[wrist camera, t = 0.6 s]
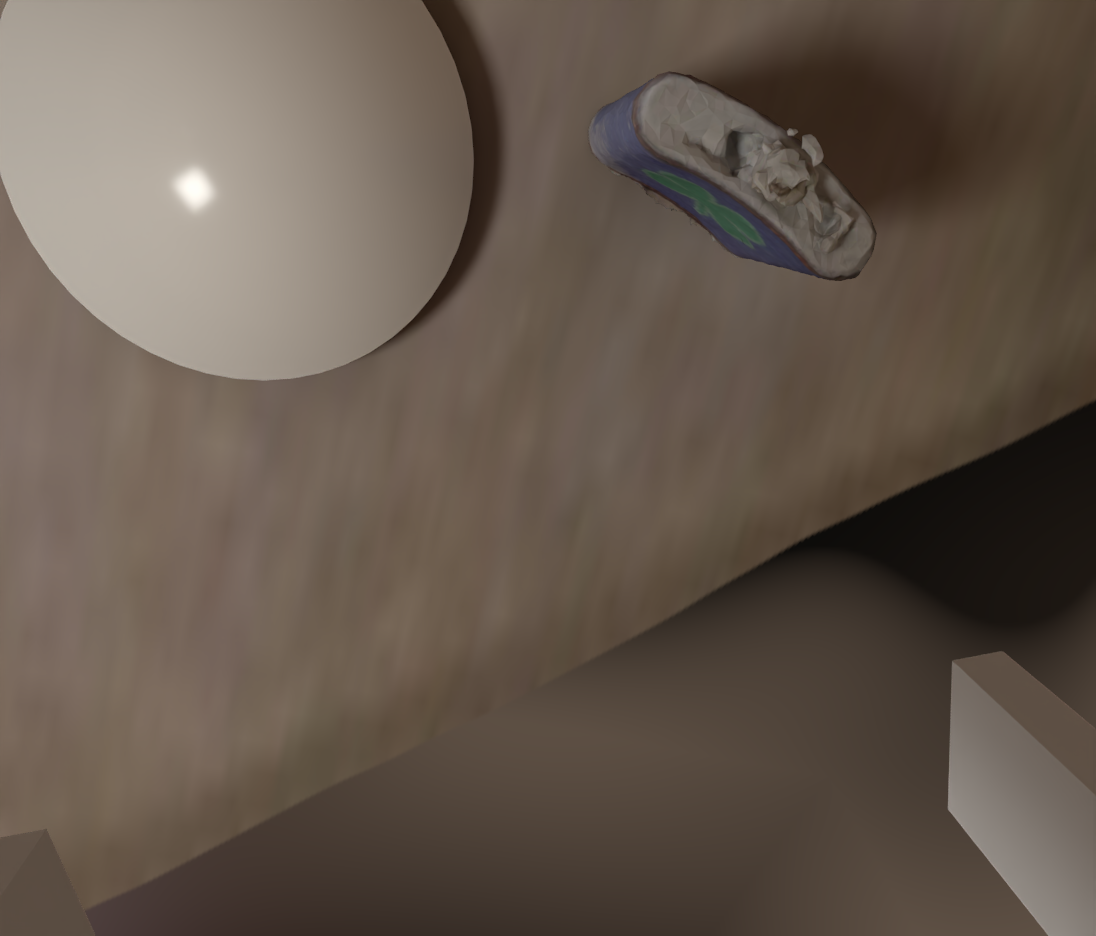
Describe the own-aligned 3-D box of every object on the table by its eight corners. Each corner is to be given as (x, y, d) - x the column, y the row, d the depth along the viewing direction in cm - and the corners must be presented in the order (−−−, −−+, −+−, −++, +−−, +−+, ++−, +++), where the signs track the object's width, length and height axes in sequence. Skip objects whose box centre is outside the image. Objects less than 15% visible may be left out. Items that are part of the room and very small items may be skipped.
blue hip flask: (573, 147, 31) (632, 121, 21) (614, 79, 30) (695, 18, 20) (751, 273, 33) (881, 305, 23) (793, 212, 33) (945, 218, 23)
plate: (-79, 191, 29) (-100, 191, 28) (162, -236, 25) (148, -257, 24) (316, 451, 34) (311, 460, 32) (560, 120, 30) (564, 117, 29)
